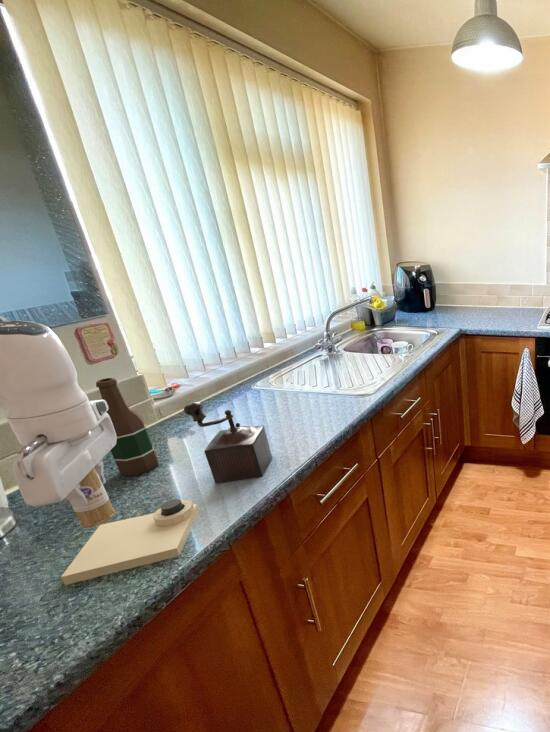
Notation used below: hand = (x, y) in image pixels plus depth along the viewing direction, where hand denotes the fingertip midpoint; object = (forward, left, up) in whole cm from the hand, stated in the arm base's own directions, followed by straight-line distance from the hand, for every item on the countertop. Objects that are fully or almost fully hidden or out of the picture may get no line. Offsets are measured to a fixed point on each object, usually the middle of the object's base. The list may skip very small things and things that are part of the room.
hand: (90, 495), depth 69 cm
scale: (+2, +3, -14) cm, 14 cm away
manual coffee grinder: (+14, +25, -14) cm, 32 cm away
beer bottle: (-8, +36, -14) cm, 40 cm away
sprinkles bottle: (0, 0, -5) cm, 5 cm away
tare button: (+7, +7, -11) cm, 15 cm away
